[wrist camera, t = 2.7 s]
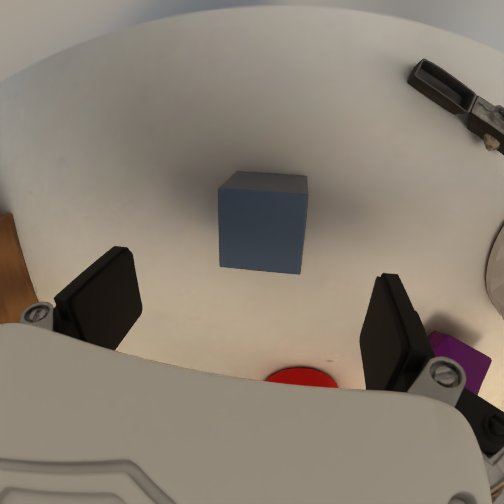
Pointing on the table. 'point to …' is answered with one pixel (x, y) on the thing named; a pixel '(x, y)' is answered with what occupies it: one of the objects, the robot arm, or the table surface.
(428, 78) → the lighter
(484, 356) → the perfume bottle
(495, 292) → the mug
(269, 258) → the block
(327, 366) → the table surface
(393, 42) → the table surface
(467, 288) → the table surface
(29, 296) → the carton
